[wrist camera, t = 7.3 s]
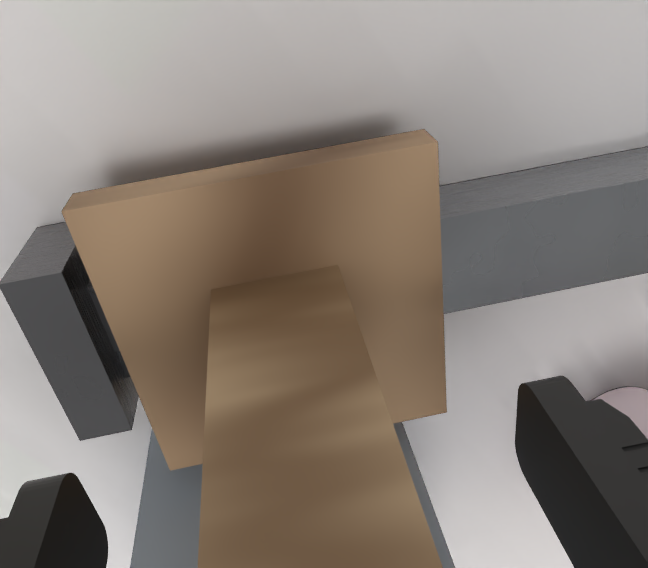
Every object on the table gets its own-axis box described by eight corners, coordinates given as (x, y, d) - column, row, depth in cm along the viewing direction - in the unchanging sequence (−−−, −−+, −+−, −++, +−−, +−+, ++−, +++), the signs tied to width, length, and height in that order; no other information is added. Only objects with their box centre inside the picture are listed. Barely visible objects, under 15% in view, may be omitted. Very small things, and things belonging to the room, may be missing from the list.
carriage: (402, 108, 15) (708, 393, 5) (417, 351, 19) (603, 746, 9) (90, 165, 14) (-171, 582, 5) (177, 400, 18) (127, 864, 9)
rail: (799, 85, 16) (905, 111, 14) (753, 238, 19) (835, 284, 16) (36, 227, 15) (-2, 284, 13) (101, 370, 18) (79, 440, 15)
